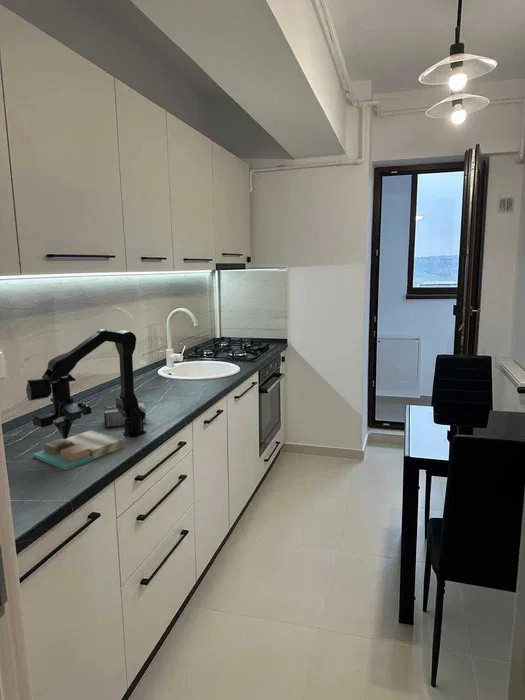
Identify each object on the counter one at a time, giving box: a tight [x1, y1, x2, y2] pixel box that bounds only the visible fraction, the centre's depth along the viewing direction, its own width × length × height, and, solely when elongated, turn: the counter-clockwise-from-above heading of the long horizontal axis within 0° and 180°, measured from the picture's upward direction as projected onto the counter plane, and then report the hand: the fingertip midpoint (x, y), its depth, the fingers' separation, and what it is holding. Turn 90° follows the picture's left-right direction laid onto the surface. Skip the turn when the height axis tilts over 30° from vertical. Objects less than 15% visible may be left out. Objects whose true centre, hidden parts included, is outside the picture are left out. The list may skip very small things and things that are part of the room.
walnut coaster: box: [43, 437, 73, 455], centre depth 162 cm, size 6×6×2 cm
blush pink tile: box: [61, 444, 90, 462], centre depth 156 cm, size 6×6×2 cm
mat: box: [32, 449, 94, 471], centre depth 157 cm, size 10×19×1 cm, turn 54°
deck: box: [65, 429, 124, 460], centre depth 166 cm, size 12×18×3 cm, turn 54°
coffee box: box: [103, 402, 147, 428], centre depth 193 cm, size 9×6×16 cm
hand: (65, 438), depth 163 cm, fingers closed
